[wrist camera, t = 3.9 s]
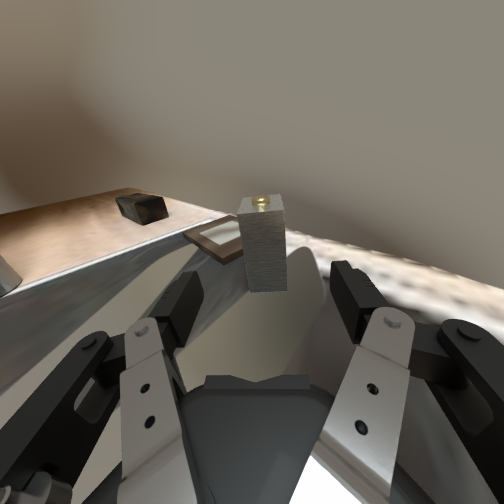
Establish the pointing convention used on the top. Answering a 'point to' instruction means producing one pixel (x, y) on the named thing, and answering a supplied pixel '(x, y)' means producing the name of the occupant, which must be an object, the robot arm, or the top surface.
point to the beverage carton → (142, 208)
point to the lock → (264, 242)
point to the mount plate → (218, 238)
